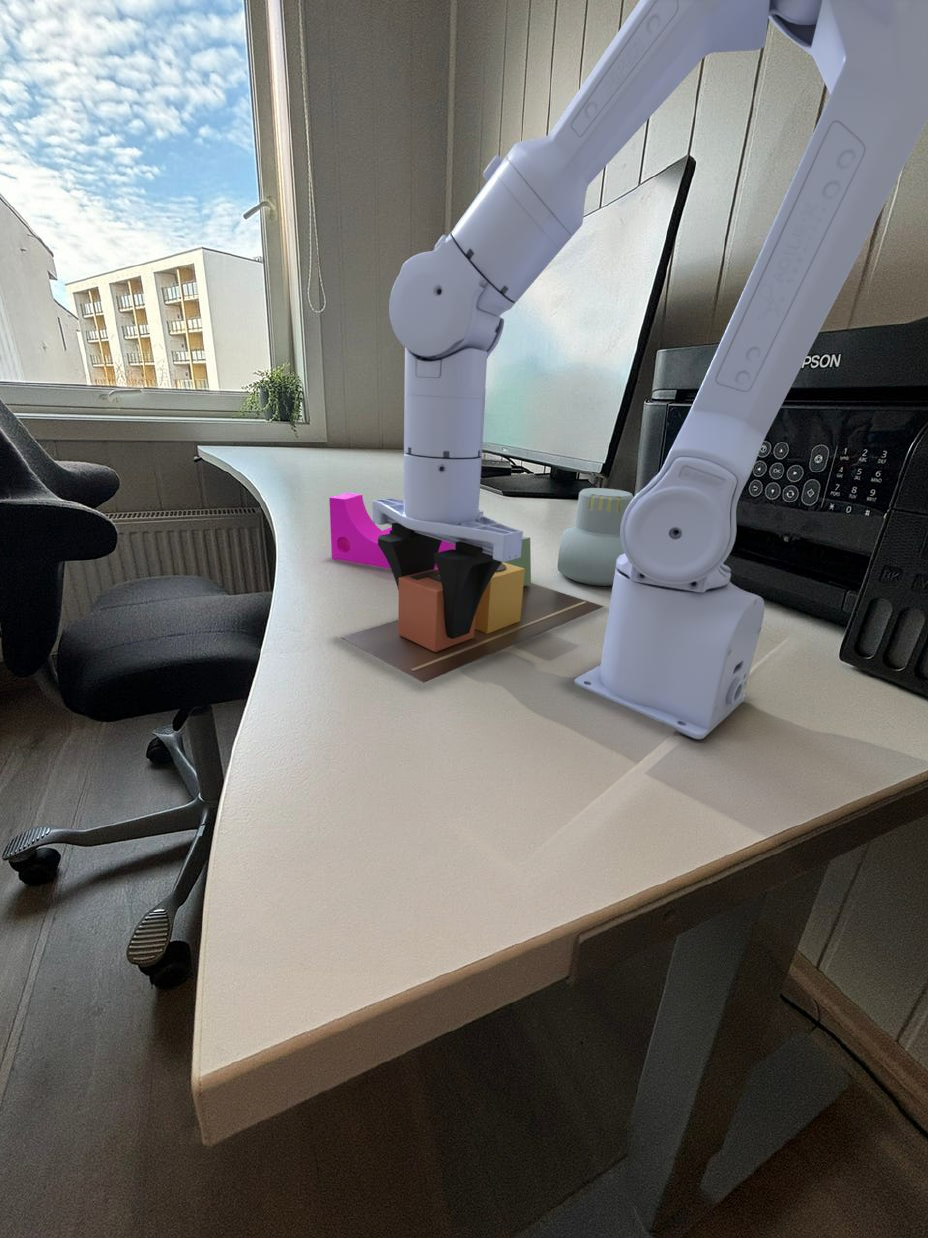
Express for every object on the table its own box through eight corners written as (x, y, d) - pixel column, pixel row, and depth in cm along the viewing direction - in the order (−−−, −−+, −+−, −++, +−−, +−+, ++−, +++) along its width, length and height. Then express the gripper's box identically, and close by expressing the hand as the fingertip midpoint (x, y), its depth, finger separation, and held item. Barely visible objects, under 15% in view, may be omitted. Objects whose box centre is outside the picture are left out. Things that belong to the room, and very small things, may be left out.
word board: (603, 609, 56) (603, 605, 56) (423, 686, 40) (423, 681, 40) (524, 584, 62) (524, 580, 62) (341, 641, 46) (341, 636, 46)
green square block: (531, 583, 61) (530, 536, 59) (504, 592, 58) (502, 542, 56) (499, 578, 64) (498, 533, 62) (472, 586, 61) (469, 539, 59)
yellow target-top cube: (520, 621, 51) (525, 566, 49) (487, 634, 48) (491, 576, 46) (483, 607, 54) (487, 555, 52) (450, 618, 51) (452, 563, 49)
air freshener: (563, 562, 71) (572, 482, 67) (630, 570, 69) (644, 488, 66) (553, 589, 61) (564, 496, 58) (632, 599, 59) (648, 504, 56)
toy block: (468, 567, 67) (472, 504, 65) (447, 581, 62) (450, 513, 59) (360, 549, 72) (358, 490, 70) (331, 561, 67) (329, 497, 64)
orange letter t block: (474, 637, 47) (478, 579, 45) (435, 652, 44) (437, 590, 42) (437, 621, 50) (439, 565, 48) (397, 634, 47) (398, 575, 45)
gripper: (556, 463, 40) (536, 640, 45) (418, 443, 49) (415, 591, 54) (489, 469, 35) (476, 666, 40) (350, 445, 44) (354, 608, 49)
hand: (437, 625), depth 46 cm, fingers closed on orange letter t block, 4 cm apart
